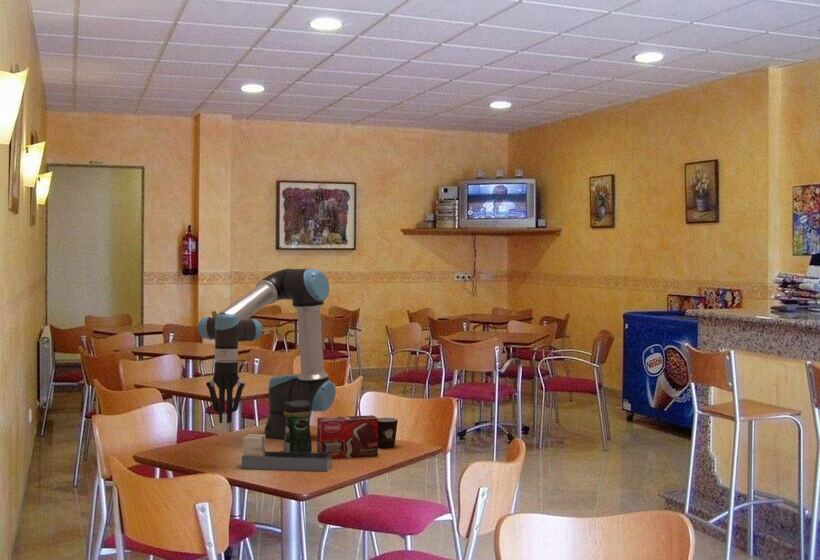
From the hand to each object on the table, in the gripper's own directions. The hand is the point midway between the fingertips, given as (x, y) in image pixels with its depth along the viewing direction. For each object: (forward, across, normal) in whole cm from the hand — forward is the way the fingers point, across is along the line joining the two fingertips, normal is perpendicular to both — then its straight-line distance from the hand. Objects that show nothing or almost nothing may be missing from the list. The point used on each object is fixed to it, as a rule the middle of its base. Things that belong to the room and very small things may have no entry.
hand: (225, 432), depth 301 cm
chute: (+11, +21, 0) cm, 23 cm away
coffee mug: (+10, +48, +36) cm, 61 cm away
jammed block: (+9, +10, 0) cm, 13 cm away
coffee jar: (+11, +20, +22) cm, 31 cm away
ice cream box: (+11, +38, +20) cm, 44 cm away
